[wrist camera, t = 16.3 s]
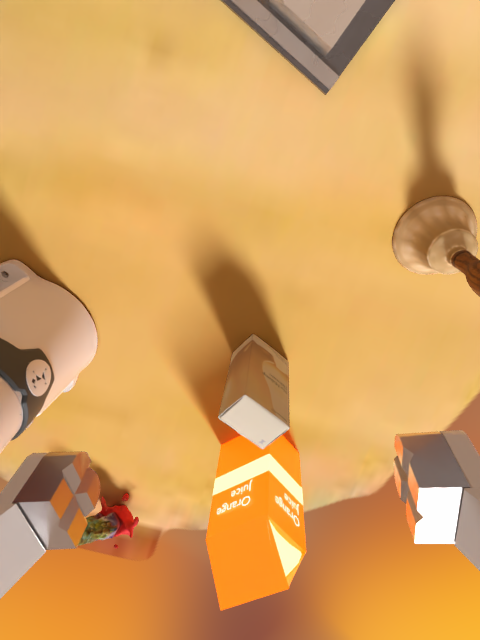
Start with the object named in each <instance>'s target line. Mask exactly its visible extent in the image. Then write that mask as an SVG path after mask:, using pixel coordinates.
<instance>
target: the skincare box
mask: <svg viewBox="0 0 480 640" xmlns="http://www.w3.org/2000/svg"><path fill="white" fill-rule="evenodd" d="M218 418H219V419H220V420H221V421H223V422H224V423H226V424H227V425H228V426H230V427H231V428H233V429H234V430H235V431H237V432H238V433H239V434H240V435H242V436H243V437H245V438H247V439H248V440H250V441H251V442H252V443H254V444H255V445H257V446H258V447H259V448H261V449H264V448H266V447H267V446H268V445H270V444H271V443H272V442H274V441H275V440H276V439H277V438H279V437H280V436H281V435H283V434H284V433H285V432H286V431H287V430H288V429H289V428H290V426H289V363H288V361H287V360H286V359H285V358H284V357H282V356H281V355H280V354H279V353H278V352H277V351H275V350H274V349H273V348H272V347H270V346H269V345H268V344H267V343H265V342H264V341H263V340H261V339H260V338H259V337H257V336H256V335H255V334H252V335H251V336H250V337H249V338H248V339H247V340H246V341H245V342H243V343H242V344H241V345H240V346H239V347H238V348H237V349H236V350H235V351H234V352H233V353H232V357H231V362H230V366H229V371H228V375H227V380H226V384H225V389H224V393H223V398H222V402H221V406H220V411H219V415H218Z"/></svg>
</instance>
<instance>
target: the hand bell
mask: <svg viewBox="0 0 480 640" xmlns="http://www.w3.org/2000/svg"><path fill="white" fill-rule="evenodd" d="M476 235H477V221H476V217H475V215H474V213H473V211H472V210H471V208H470V207H469V206H468V205H467V204H466V203H464V202H463V201H461V200H459V199H457V198H454V197H449V196H436V197H431V198H428V199H425V200H422V201H420V202H419V203H417V204H415V205H414V206H412V207H411V208H410V209H409V210H408V211H407V212H406V213H405V214H404V215H403V216H402V217H401V219H400V220H399V221H398V223H397V226H396V228H395V230H394V234H393V239H392V246H393V252H394V254H395V257H396V259H397V260H398V262H399V263H400V264H401V265H402V266H403V267H404V268H406V269H407V270H409V271H411V272H414V273H417V274H425V275H428V274H436V273H441V274H454V273H458V272H460V271H461V272H462V273H464V274H465V275H466V279H467V282H468V284H469V286H470V287H471V288H472V290H473V291H474V292H475V293H476V294H477V295H478V296H480V260H479V259H477V258H476V255H477V252H478V243H477V240H476Z"/></svg>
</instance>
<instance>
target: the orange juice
mask: <svg viewBox="0 0 480 640" xmlns="http://www.w3.org/2000/svg"><path fill="white" fill-rule="evenodd" d="M206 543H207V547H208V552H209V557H210V562H211V567H212V571H213V576H214V581H215V585H216V591H217V595H218V600H219V605H220V610H224V609H227V608H230V607H233V606H236V605H240V604H243V603H246V602H249V601H252V600H255V599H258V598H262V597H265V596H268V595H271V594H274V593H277V592H280V591H283V590H287V589H289V585H290V583H291V581H292V578H293V577H294V575H295V573H296V570H297V568H298V566H299V564H300V562H301V560H302V558H303V556H304V554H305V553H306V542H305V528H304V514H303V494H302V486H301V472H300V458H299V453H298V452H297V451H296V449H295V448H294V447H293V446H292V445H291V444H290V443H289V442H288V441H287V439H286V438H285V437H284V436H283V435H281V436H280V437H279V438H277V439H276V440H275V441H274V442H272V443H271V444H270V445H268V446H267V447H266V448H264V449H261V448H259V447H258V446H257V445H255V444H254V443H252V442H251V441H250V440H248V439H247V438H245V437H243V436H242V435H240V436H238V437H236V438H234V439H232V440H230V441H228V442H226V443H224V444H222V445H221V449H220V456H219V462H218V468H217V474H216V479H215V484H214V490H213V499H212V505H211V512H210V518H209V524H208V530H207V536H206Z"/></svg>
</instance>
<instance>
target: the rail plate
mask: <svg viewBox="0 0 480 640" xmlns="http://www.w3.org/2000/svg"><path fill="white" fill-rule="evenodd" d="M221 1H222V2H223V3H224V4H225V5H226V6H227V7H228V8H229V9H230V10H232V11H233V12H234V13H235V14H236V15H237V16H238V17H239V18H240V19H242V20H243V21H244V22H245V23H246V24H247V25H248V26H249V27H250V28H252V29H253V30H254V31H255V32H256V33H257V34H258V35H259V36H260V37H262V38H263V39H264V40H265V41H266V42H267V43H268V44H269V45H270V46H271V47H273V48H274V49H275V50H276V51H277V52H278V53H279V54H280V55H281V56H283V57H284V58H285V59H286V60H287V61H288V62H289V63H290V64H291V65H293V66H294V67H295V68H296V69H297V70H298V71H299V72H300V73H301V74H303V75H304V76H305V77H306V78H307V79H308V80H309V81H310V82H311V83H313V84H314V85H315V86H316V87H317V88H318V89H319V90H320V91H321V92H322V93H324V94H325V95H326V94H327V92H328V91H329V90H330V89H331V88H332V86H333V85H334V84H335V82H336V81H337V80H338V78H339V76H340V75H341V73H342V72H343V71H344V69H345V68H346V66H347V65H348V64H349V62H350V61H351V60H352V58H353V57H354V56H355V54H356V53H357V51H358V50H359V49H360V47H361V46H362V45H363V43H364V42H365V41H366V39H367V38H368V36H369V35H370V34H371V32H372V31H373V30H374V28H375V27H376V26H377V24H378V23H379V21H380V20H381V19H382V17H383V16H384V15H385V13H386V12H387V10H388V9H389V8H390V6H391V5H392V4H393V2H394V1H395V0H221Z"/></svg>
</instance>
